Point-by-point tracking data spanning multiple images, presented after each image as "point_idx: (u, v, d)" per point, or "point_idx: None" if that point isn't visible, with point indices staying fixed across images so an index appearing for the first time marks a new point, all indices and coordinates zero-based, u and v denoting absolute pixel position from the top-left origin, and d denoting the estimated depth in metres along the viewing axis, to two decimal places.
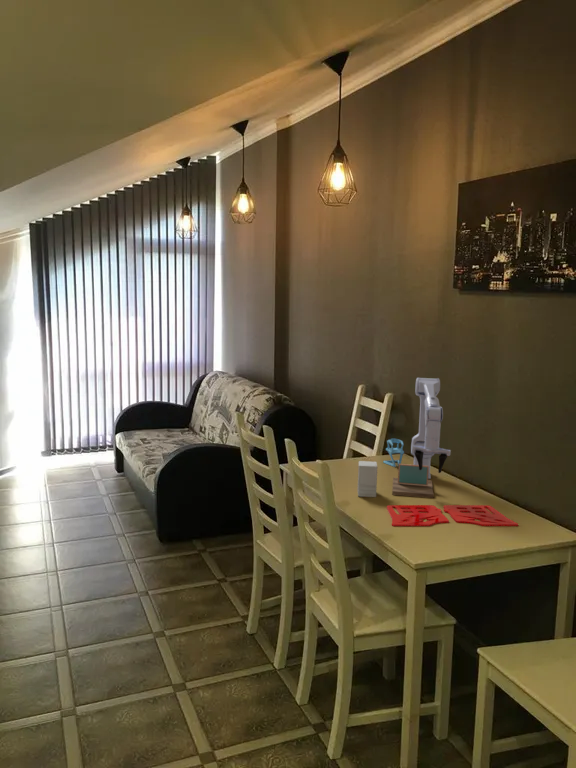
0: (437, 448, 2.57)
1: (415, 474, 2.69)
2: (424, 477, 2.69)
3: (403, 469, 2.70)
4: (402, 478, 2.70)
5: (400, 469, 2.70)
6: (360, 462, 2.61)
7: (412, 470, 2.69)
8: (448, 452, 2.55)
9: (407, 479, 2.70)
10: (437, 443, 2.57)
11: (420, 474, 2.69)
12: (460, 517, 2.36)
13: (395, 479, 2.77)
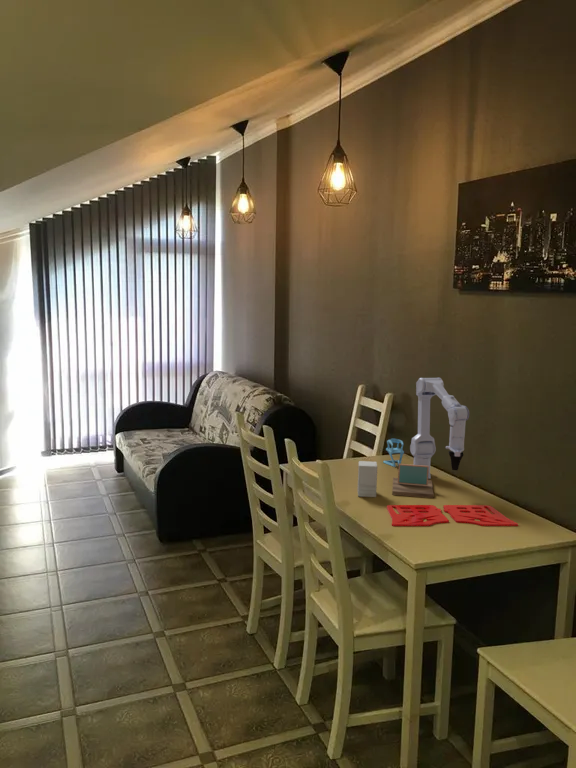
0: (453, 447, 2.58)
1: (415, 474, 2.69)
2: (424, 477, 2.69)
3: (403, 469, 2.70)
4: (402, 478, 2.70)
5: (400, 469, 2.70)
6: (360, 462, 2.61)
7: (412, 470, 2.69)
8: (454, 452, 2.54)
9: (407, 479, 2.70)
10: (453, 442, 2.58)
11: (420, 474, 2.69)
12: (460, 517, 2.36)
13: (395, 479, 2.77)
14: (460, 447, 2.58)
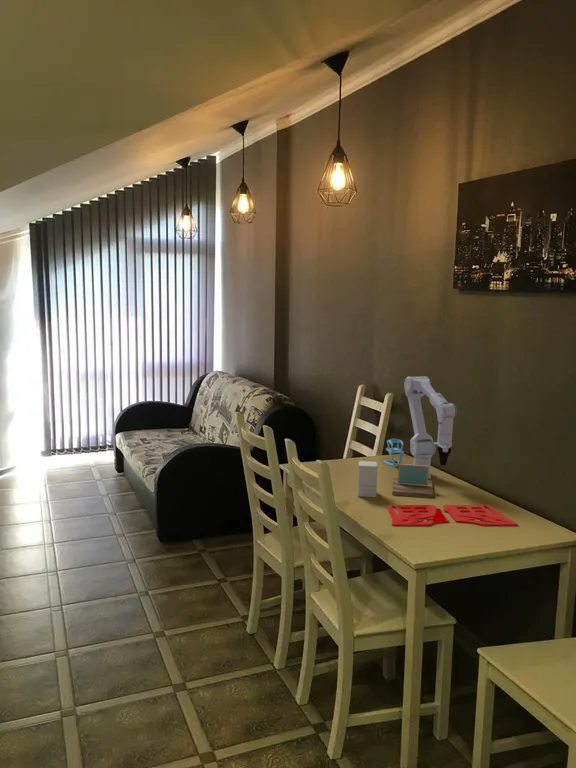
0: (442, 443, 2.69)
1: (415, 474, 2.69)
2: (424, 477, 2.69)
3: (403, 469, 2.70)
4: (402, 478, 2.70)
5: (400, 469, 2.70)
6: (360, 462, 2.61)
7: (412, 470, 2.69)
8: (443, 448, 2.65)
9: (407, 479, 2.70)
10: (441, 438, 2.69)
11: (420, 474, 2.69)
12: (460, 517, 2.36)
13: (395, 479, 2.77)
14: (448, 443, 2.69)
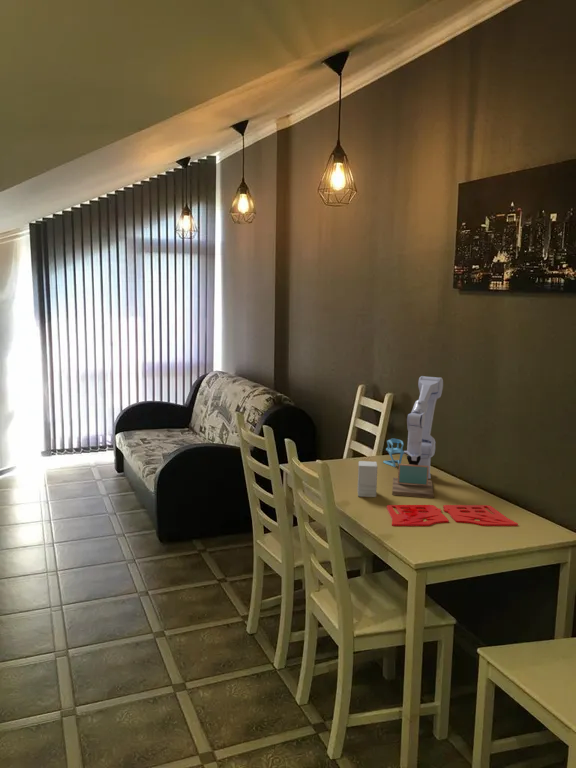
0: (411, 452, 2.71)
1: (415, 474, 2.69)
2: (424, 477, 2.69)
3: (403, 469, 2.70)
4: (402, 478, 2.70)
5: (400, 469, 2.70)
6: (360, 462, 2.61)
7: (412, 470, 2.69)
8: (411, 457, 2.67)
9: (407, 479, 2.70)
10: (411, 447, 2.71)
11: (420, 474, 2.69)
12: (460, 517, 2.36)
13: (395, 479, 2.77)
14: (417, 452, 2.71)
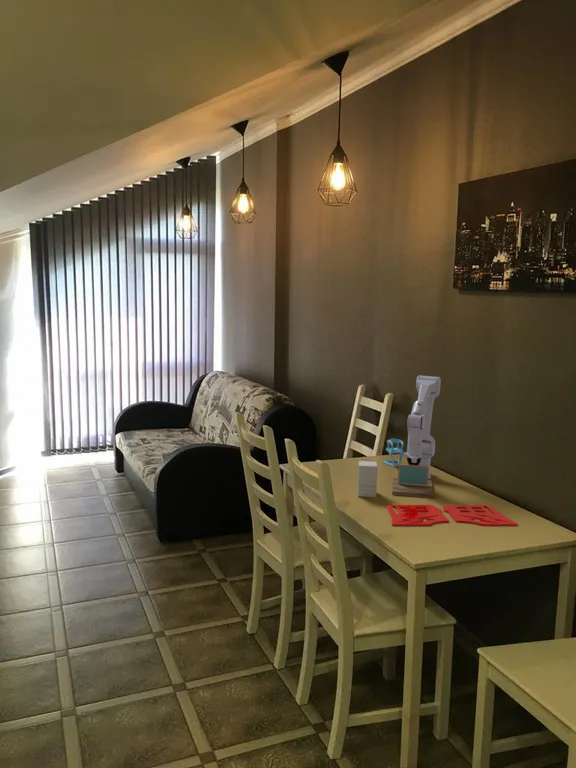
0: (411, 453, 2.68)
1: (415, 474, 2.69)
2: (424, 477, 2.69)
3: (403, 469, 2.70)
4: (402, 478, 2.70)
5: (400, 469, 2.70)
6: (360, 462, 2.61)
7: (412, 470, 2.69)
8: (411, 459, 2.64)
9: (407, 479, 2.70)
10: (411, 448, 2.68)
11: (420, 474, 2.69)
12: (460, 517, 2.36)
13: (395, 479, 2.77)
14: (417, 453, 2.68)
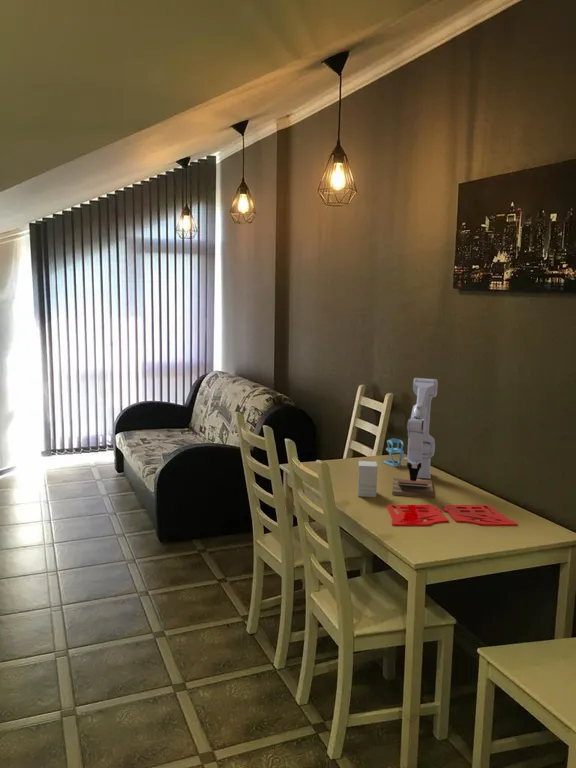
0: (411, 459, 2.60)
1: (415, 484, 2.65)
2: (424, 485, 2.66)
3: None
4: (402, 483, 2.68)
5: (399, 482, 2.65)
6: (360, 462, 2.61)
7: (412, 483, 2.64)
8: (412, 464, 2.56)
9: (407, 484, 2.68)
10: (411, 454, 2.60)
11: (420, 484, 2.65)
12: (460, 516, 2.37)
13: (395, 479, 2.77)
14: (418, 459, 2.60)
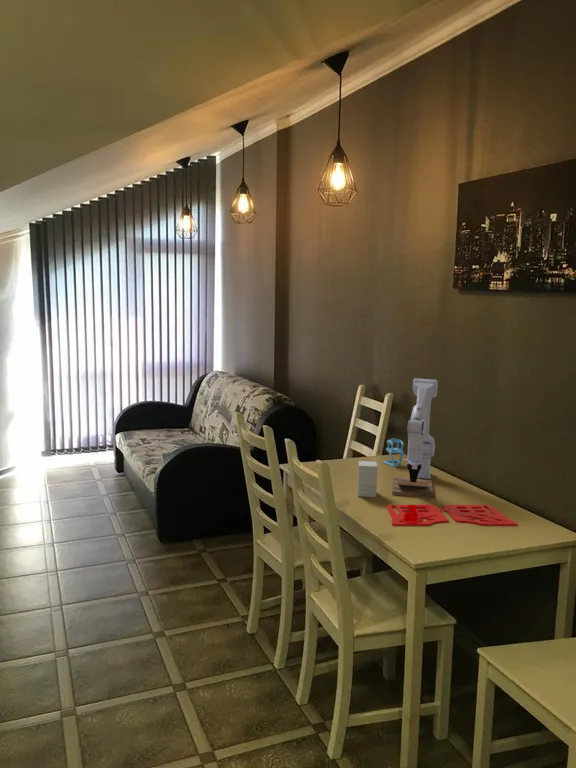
0: (411, 460, 2.60)
1: None
2: None
3: None
4: None
5: (399, 483, 2.65)
6: (360, 462, 2.61)
7: None
8: (412, 465, 2.56)
9: (407, 484, 2.68)
10: (411, 455, 2.60)
11: (420, 485, 2.65)
12: (459, 516, 2.37)
13: (395, 479, 2.77)
14: (418, 460, 2.59)
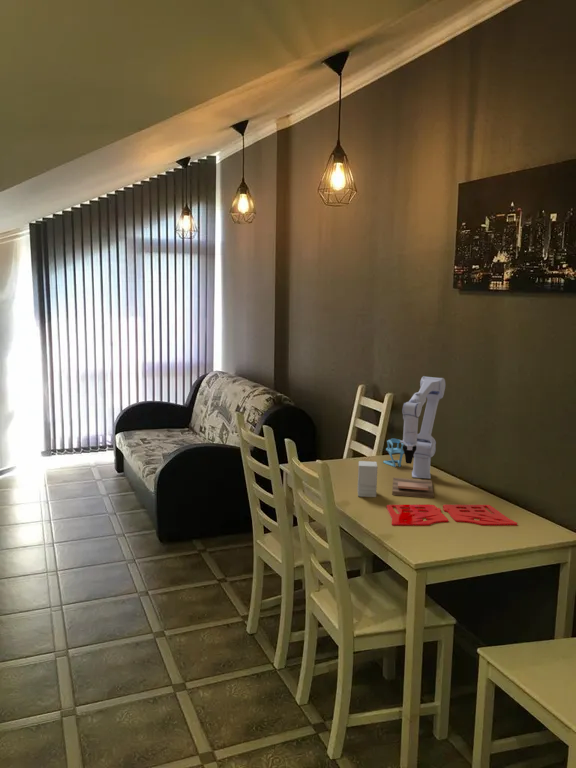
0: (407, 441, 2.70)
1: None
2: None
3: None
4: None
5: None
6: (360, 462, 2.61)
7: None
8: (407, 446, 2.66)
9: None
10: (406, 436, 2.70)
11: None
12: (459, 516, 2.37)
13: (395, 479, 2.77)
14: (413, 441, 2.70)
